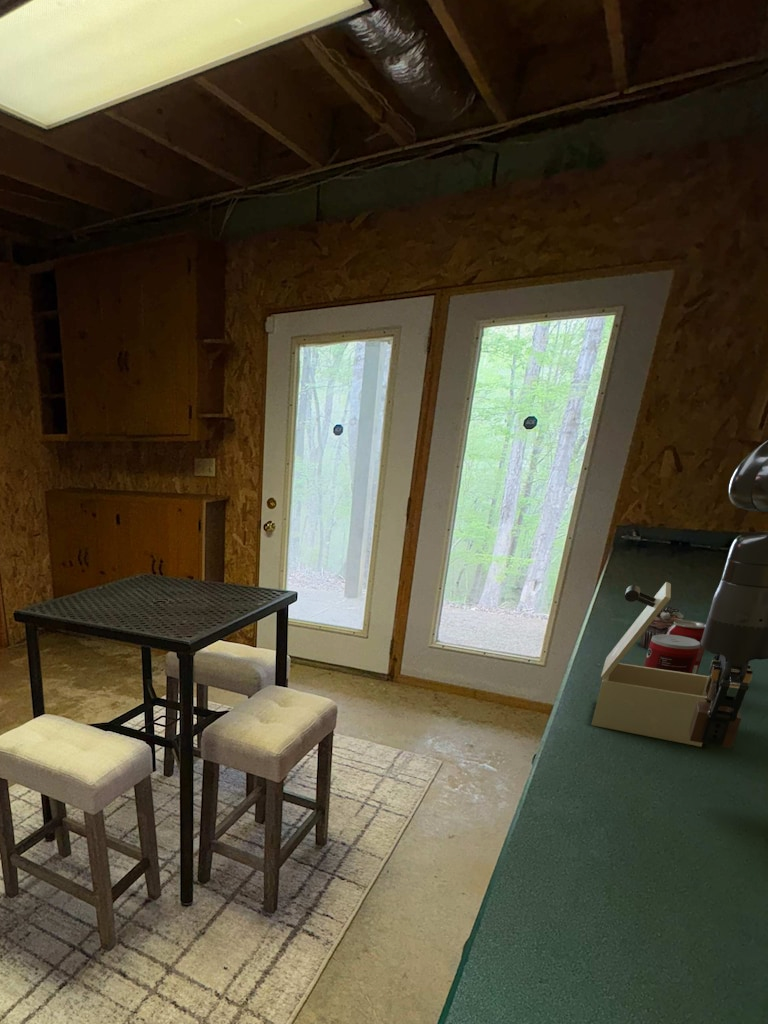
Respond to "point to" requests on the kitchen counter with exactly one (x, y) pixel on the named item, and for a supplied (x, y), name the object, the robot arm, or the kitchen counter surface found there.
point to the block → (700, 722)
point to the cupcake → (660, 625)
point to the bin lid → (637, 623)
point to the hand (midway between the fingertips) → (710, 736)
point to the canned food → (672, 653)
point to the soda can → (689, 635)
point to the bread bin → (650, 702)
